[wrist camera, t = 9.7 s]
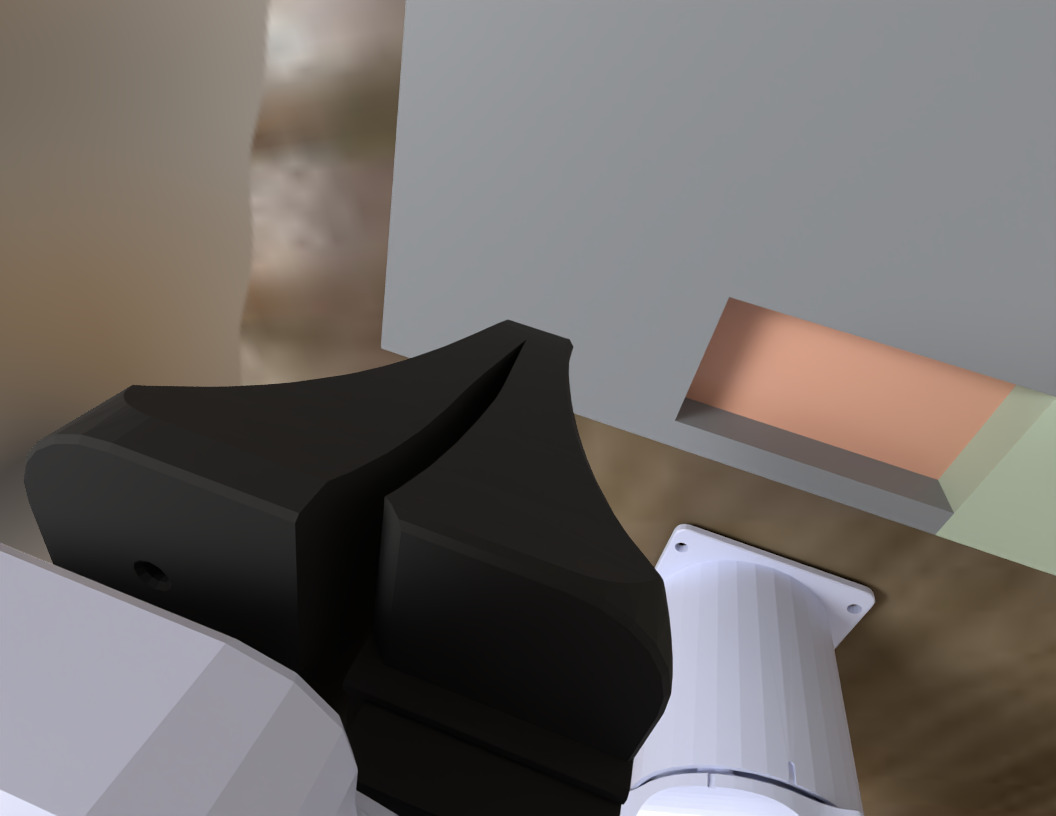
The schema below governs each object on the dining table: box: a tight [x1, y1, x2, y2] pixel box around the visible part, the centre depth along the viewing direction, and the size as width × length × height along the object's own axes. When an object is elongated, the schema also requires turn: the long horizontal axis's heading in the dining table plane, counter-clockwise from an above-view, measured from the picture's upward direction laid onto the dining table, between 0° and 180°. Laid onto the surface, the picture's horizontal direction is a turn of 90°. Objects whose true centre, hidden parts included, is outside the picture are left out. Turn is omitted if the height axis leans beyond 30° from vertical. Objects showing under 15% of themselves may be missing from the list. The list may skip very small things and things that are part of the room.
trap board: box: [381, 0, 1056, 576], centre depth 14 cm, size 19×27×4 cm
